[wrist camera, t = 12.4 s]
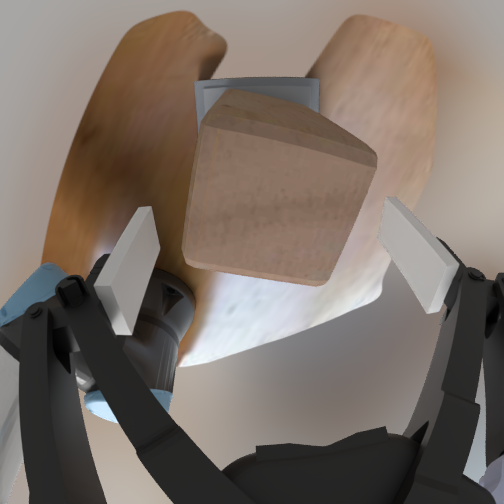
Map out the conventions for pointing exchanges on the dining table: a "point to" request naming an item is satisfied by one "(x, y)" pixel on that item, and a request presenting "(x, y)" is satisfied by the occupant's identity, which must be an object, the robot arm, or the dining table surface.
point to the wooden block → (273, 190)
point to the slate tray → (258, 90)
